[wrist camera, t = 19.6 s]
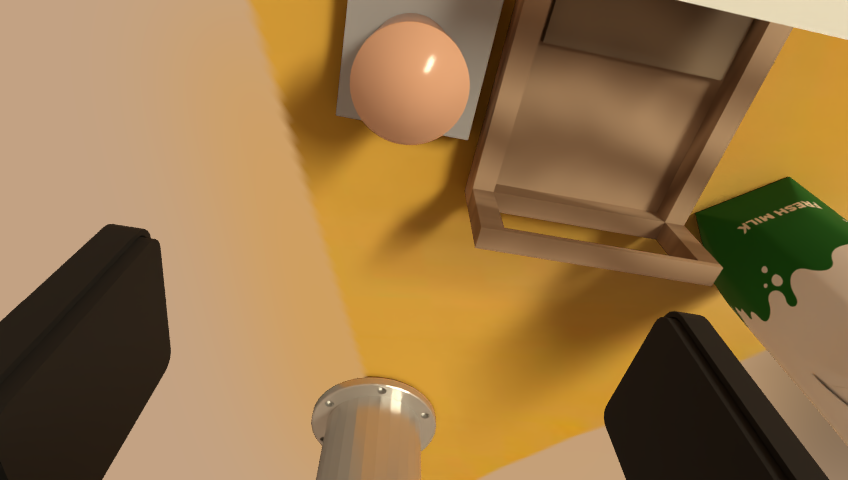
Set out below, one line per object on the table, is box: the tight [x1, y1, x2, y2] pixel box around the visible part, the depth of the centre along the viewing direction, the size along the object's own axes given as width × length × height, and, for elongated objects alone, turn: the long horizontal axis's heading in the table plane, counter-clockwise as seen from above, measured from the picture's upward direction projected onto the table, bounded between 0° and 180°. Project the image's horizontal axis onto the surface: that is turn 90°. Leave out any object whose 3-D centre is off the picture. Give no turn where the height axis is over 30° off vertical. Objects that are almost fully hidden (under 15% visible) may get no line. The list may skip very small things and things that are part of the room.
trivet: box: [336, 0, 504, 140], centre depth 31 cm, size 9×9×2 cm
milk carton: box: [695, 177, 848, 446], centre depth 30 cm, size 9×9×20 cm
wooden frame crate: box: [465, 0, 793, 286], centre depth 29 cm, size 22×16×8 cm
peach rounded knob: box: [350, 13, 470, 145], centre depth 27 cm, size 6×6×7 cm
